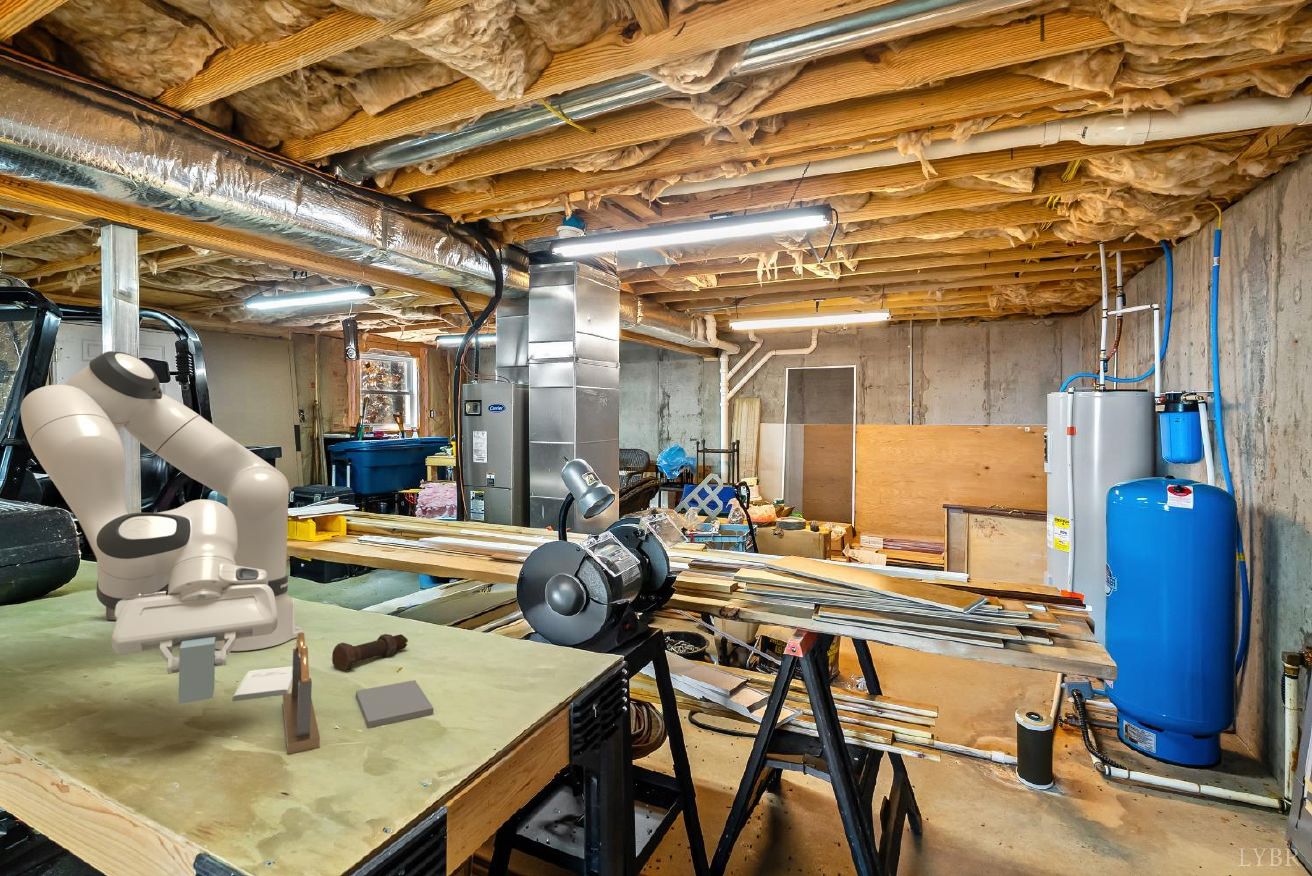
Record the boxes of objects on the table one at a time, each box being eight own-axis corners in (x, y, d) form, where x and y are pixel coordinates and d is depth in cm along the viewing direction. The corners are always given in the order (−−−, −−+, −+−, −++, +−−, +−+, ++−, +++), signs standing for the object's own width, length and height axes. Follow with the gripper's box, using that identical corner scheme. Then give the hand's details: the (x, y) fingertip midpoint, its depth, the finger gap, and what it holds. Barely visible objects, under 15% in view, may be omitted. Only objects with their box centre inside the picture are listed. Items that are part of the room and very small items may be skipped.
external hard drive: (232, 704, 104) (247, 678, 116) (287, 697, 108) (296, 673, 119) (232, 695, 104) (247, 670, 116) (287, 688, 108) (296, 664, 119)
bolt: (405, 658, 132) (340, 678, 119) (392, 643, 134) (328, 661, 121) (415, 637, 131) (351, 655, 118) (402, 622, 133) (338, 638, 120)
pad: (355, 696, 107) (355, 690, 107) (414, 685, 113) (415, 679, 113) (368, 727, 96) (368, 721, 96) (433, 713, 101) (433, 707, 101)
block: (181, 694, 90) (182, 640, 90) (214, 688, 92) (215, 636, 92) (178, 704, 87) (179, 648, 87) (212, 698, 89) (214, 643, 89)
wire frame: (282, 703, 104) (285, 624, 104) (309, 698, 106) (311, 621, 106) (287, 754, 87) (291, 660, 87) (319, 747, 89) (322, 655, 90)
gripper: (114, 584, 89) (99, 671, 81) (277, 569, 101) (278, 644, 93) (119, 607, 93) (105, 692, 85) (276, 590, 104) (277, 664, 96)
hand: (197, 667), depth 89 cm, fingers closed on block, 4 cm apart
